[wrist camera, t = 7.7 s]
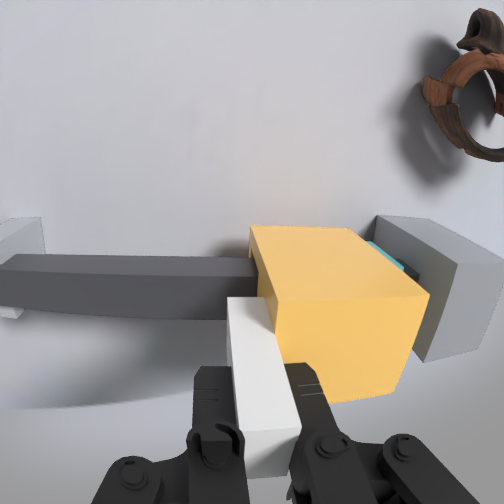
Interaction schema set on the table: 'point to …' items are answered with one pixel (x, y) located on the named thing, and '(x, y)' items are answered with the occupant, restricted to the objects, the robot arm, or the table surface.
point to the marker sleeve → (337, 307)
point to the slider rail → (249, 281)
